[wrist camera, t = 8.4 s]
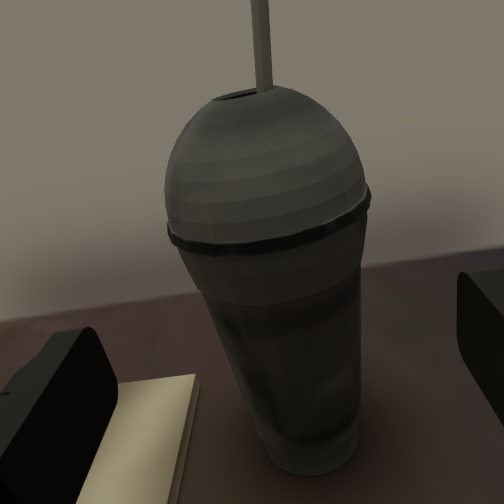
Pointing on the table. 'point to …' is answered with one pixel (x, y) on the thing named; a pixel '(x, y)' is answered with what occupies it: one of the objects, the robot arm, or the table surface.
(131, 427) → the birch coaster
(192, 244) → the beverage cup
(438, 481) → the table surface
